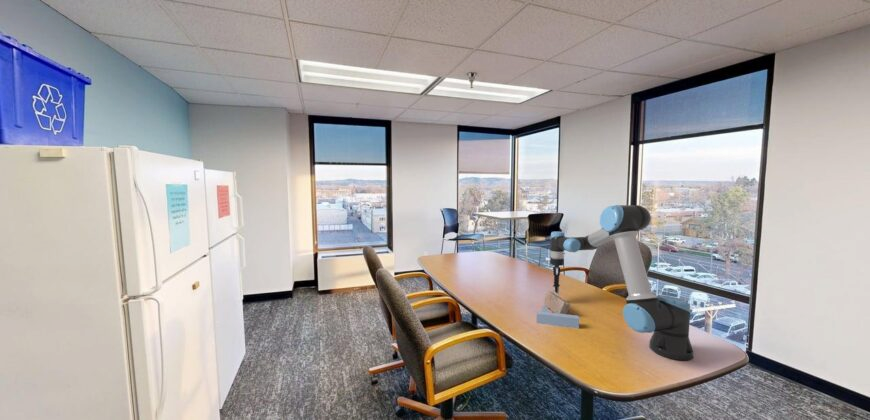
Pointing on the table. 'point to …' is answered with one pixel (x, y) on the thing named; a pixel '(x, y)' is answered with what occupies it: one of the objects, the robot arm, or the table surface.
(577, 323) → the board
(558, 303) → the brick
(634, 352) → the table surface
